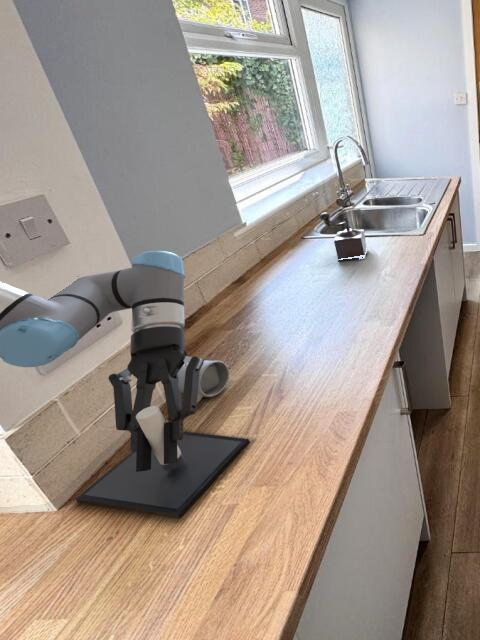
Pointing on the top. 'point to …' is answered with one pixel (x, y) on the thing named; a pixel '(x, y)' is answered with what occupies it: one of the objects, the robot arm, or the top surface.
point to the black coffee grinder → (347, 240)
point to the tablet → (166, 477)
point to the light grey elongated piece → (156, 434)
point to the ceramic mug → (207, 379)
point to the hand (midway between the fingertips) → (157, 466)
